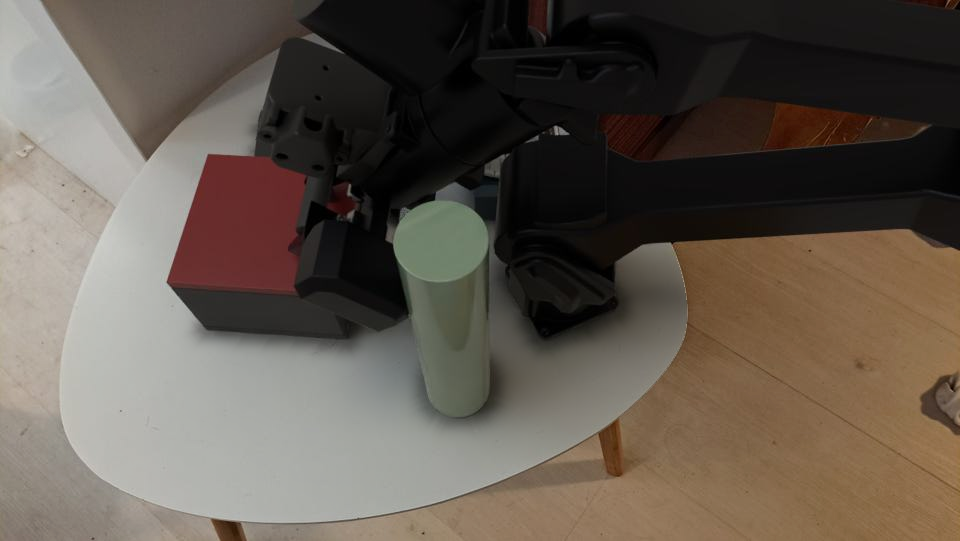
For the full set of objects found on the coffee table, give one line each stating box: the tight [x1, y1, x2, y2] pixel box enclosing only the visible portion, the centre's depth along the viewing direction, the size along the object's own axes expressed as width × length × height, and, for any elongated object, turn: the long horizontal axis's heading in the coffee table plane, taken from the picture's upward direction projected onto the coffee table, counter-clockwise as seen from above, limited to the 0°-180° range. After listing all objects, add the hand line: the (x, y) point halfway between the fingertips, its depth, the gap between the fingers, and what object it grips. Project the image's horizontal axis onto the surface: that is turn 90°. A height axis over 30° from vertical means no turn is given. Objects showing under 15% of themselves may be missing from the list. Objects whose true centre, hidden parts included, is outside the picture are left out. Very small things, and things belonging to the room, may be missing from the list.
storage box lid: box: [166, 153, 358, 296], centre depth 47 cm, size 11×10×4 cm
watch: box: [473, 126, 561, 220], centre depth 54 cm, size 6×8×11 cm
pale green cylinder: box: [393, 199, 491, 418], centre depth 42 cm, size 4×4×20 cm
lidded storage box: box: [170, 203, 360, 340], centre depth 52 cm, size 10×10×7 cm
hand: (302, 217), depth 48 cm, fingers closed on storage box lid, 5 cm apart
